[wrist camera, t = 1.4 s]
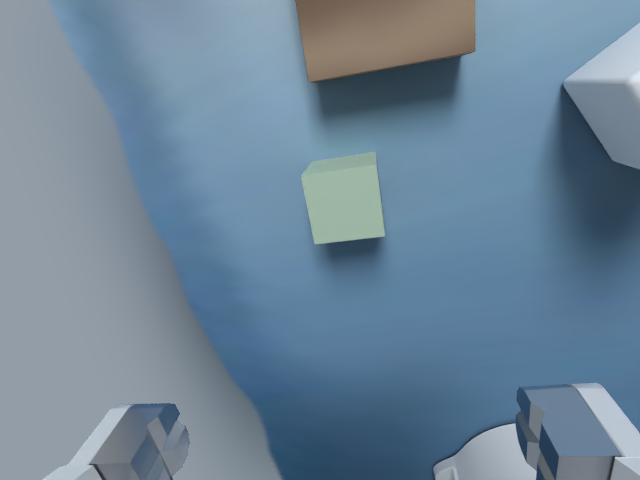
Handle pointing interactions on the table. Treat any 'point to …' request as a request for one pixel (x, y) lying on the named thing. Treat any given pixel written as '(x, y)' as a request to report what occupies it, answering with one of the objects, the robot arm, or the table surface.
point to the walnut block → (381, 34)
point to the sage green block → (344, 198)
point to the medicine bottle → (612, 97)
